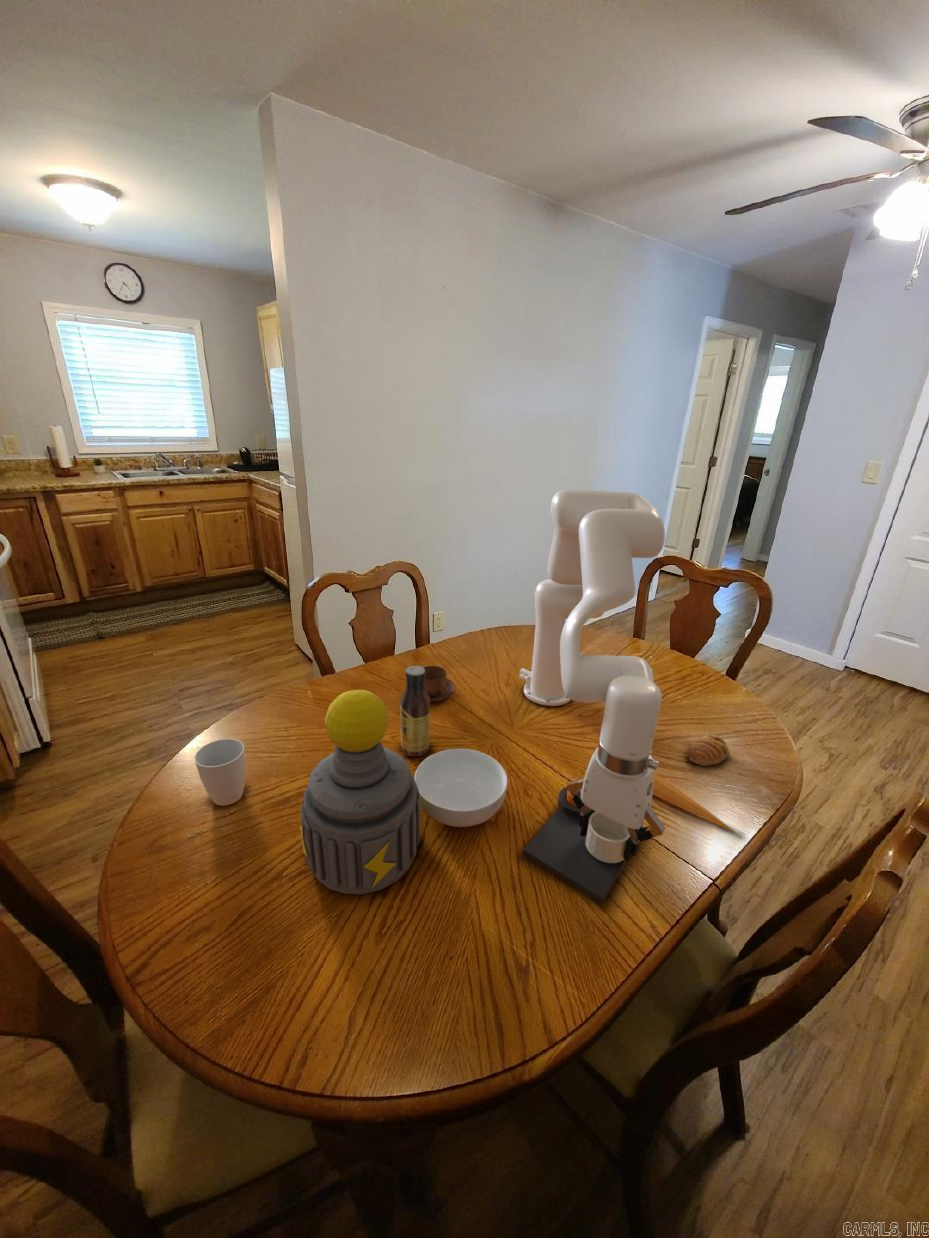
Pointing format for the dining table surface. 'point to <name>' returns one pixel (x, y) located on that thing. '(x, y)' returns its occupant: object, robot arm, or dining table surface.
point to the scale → (571, 853)
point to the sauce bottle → (415, 713)
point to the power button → (571, 798)
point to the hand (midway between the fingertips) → (606, 842)
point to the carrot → (683, 801)
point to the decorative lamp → (360, 802)
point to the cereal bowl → (461, 787)
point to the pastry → (708, 750)
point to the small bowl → (606, 838)
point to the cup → (222, 770)
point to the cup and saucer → (438, 683)
